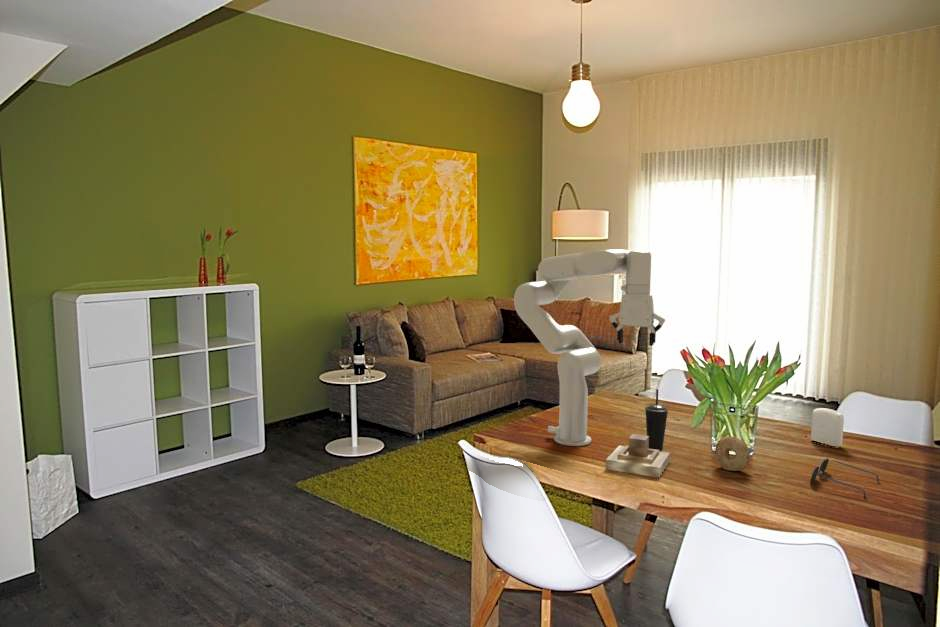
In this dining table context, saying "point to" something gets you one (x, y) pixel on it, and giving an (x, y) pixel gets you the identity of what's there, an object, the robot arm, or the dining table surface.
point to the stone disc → (729, 462)
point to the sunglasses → (822, 469)
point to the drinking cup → (656, 424)
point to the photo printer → (827, 426)
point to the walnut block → (638, 445)
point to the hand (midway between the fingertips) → (635, 344)
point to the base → (638, 462)
